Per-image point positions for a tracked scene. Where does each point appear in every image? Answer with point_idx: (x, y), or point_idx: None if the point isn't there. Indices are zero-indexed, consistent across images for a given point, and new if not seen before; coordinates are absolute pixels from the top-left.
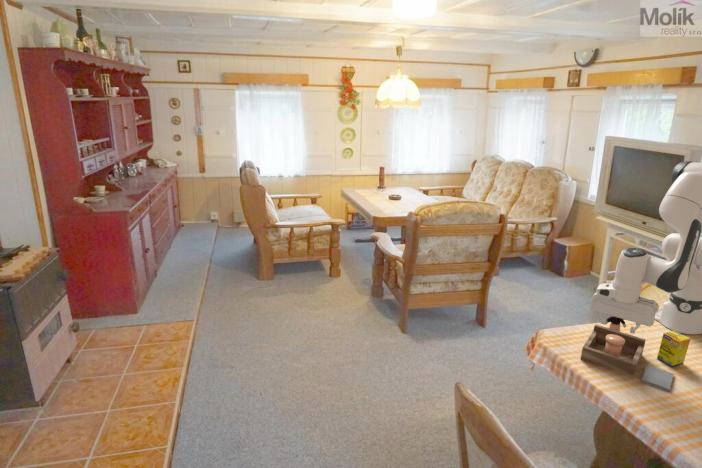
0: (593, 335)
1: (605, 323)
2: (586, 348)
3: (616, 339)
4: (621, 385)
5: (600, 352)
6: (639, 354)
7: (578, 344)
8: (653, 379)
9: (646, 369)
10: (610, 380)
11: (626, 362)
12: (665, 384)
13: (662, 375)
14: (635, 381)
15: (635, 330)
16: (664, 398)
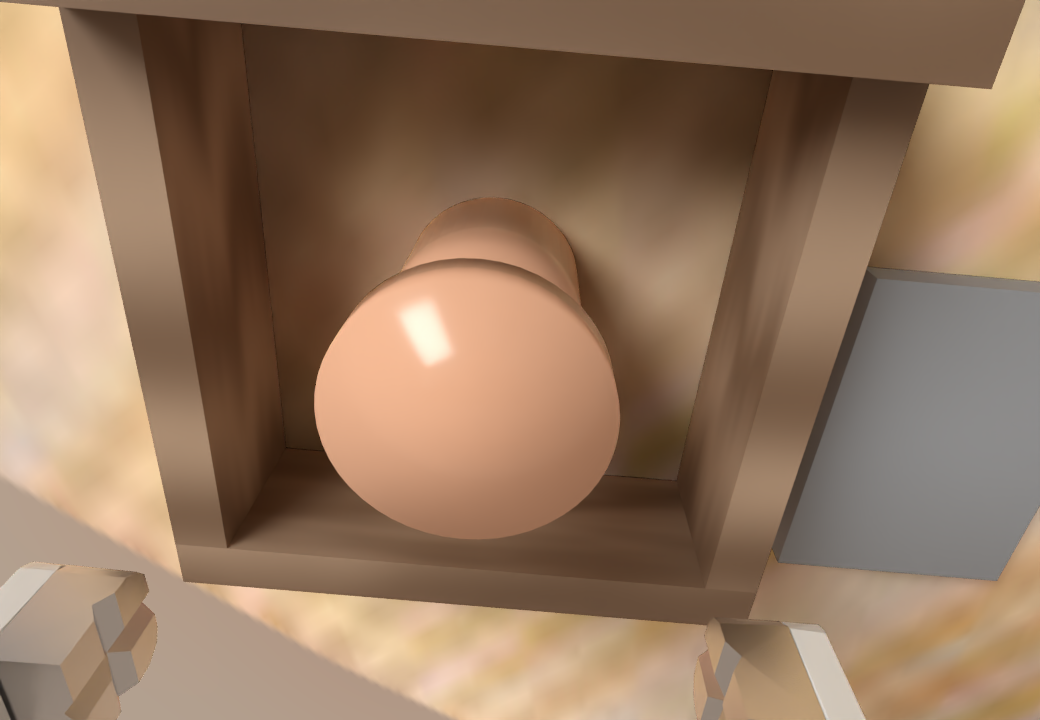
0: (146, 216)
1: (141, 600)
2: (225, 582)
3: (485, 441)
4: (620, 646)
5: (374, 583)
6: (811, 399)
7: None
8: (887, 514)
9: (851, 382)
10: (539, 629)
11: (649, 617)
12: (981, 533)
13: (1000, 405)
14: None
15: (831, 676)
16: (918, 644)
